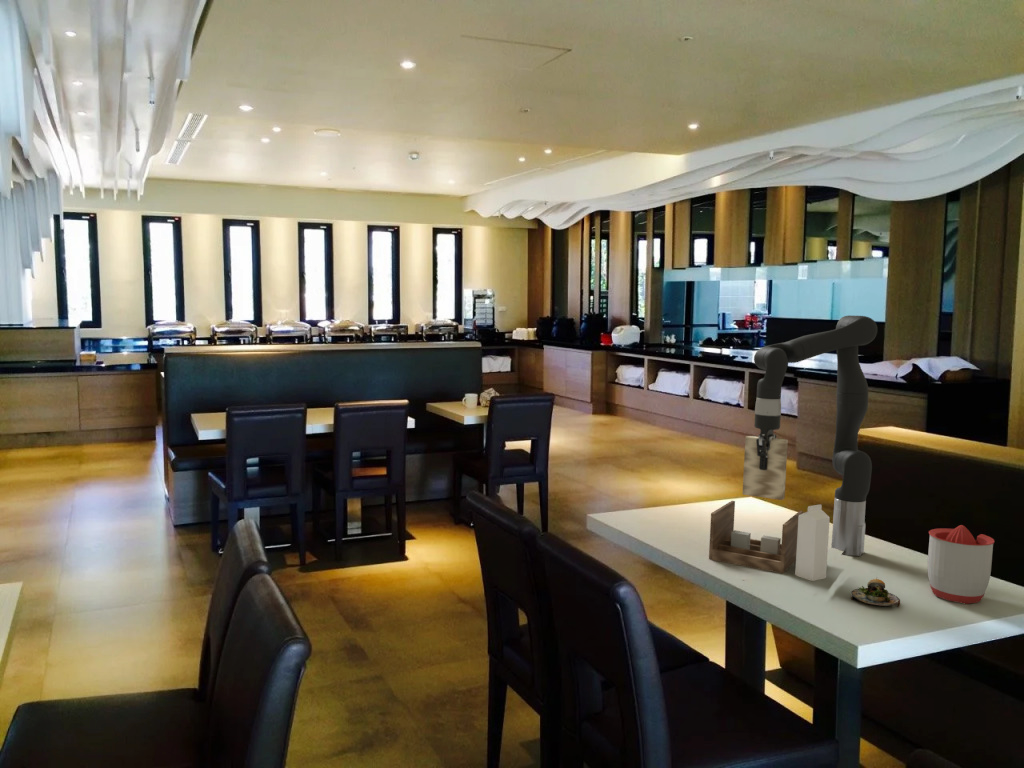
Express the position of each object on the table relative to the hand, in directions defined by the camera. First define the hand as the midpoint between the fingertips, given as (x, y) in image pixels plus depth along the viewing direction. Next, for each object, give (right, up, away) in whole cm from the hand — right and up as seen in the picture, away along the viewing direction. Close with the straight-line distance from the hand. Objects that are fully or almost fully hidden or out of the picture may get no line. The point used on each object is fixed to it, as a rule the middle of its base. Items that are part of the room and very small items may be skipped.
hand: (764, 468), depth 250 cm
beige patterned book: (0, -9, +1) cm, 9 cm away
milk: (+7, -30, -18) cm, 36 cm away
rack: (-4, -28, -2) cm, 29 cm away
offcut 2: (0, -27, -5) cm, 28 cm away
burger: (+19, -32, -33) cm, 50 cm away
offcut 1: (-8, -26, 0) cm, 28 cm away
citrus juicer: (+44, -32, -27) cm, 61 cm away
